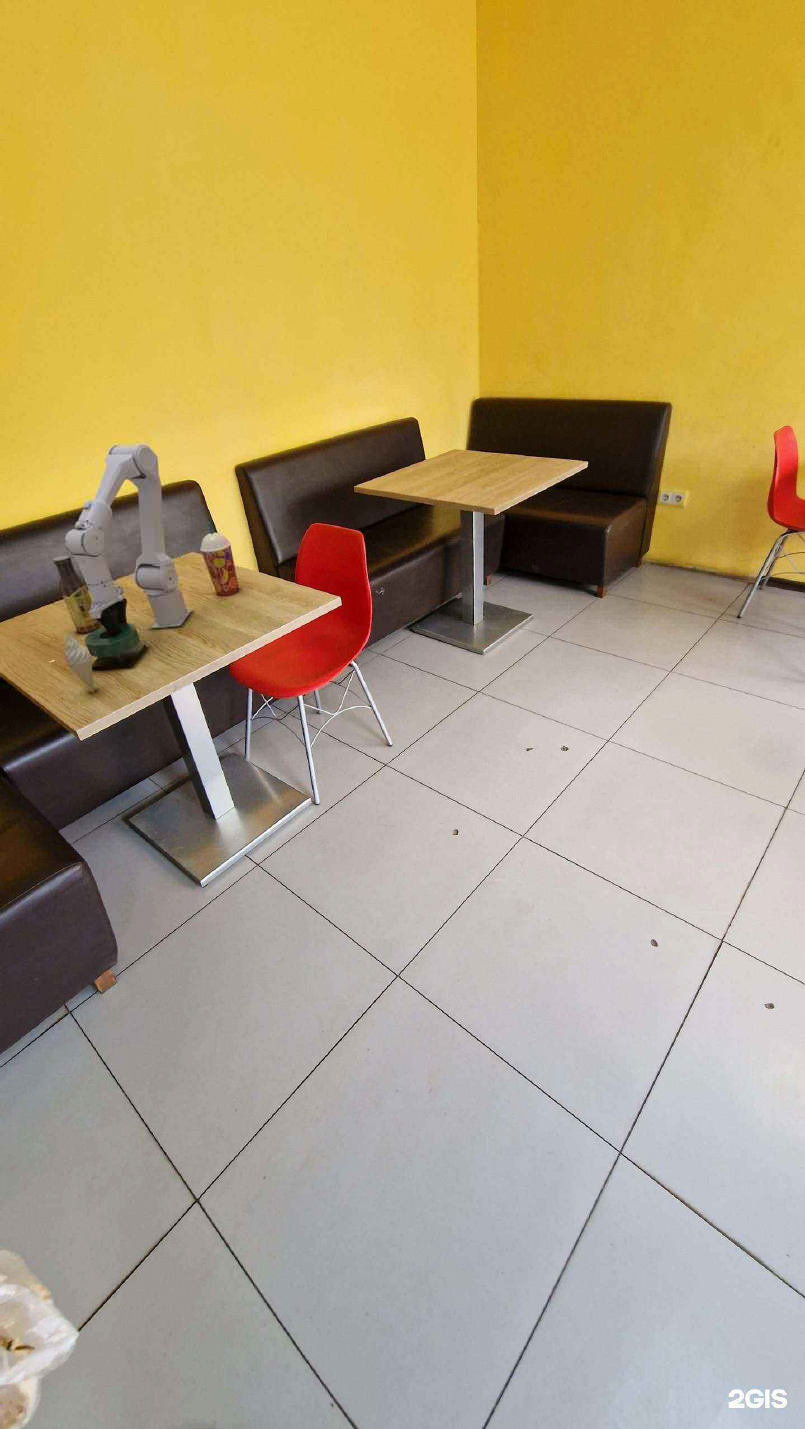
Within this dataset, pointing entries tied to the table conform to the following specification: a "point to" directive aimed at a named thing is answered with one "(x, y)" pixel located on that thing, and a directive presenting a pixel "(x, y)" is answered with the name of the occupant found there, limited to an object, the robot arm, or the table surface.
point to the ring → (112, 641)
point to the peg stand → (119, 659)
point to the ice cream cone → (79, 661)
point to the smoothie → (219, 562)
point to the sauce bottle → (75, 595)
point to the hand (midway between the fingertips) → (119, 632)
